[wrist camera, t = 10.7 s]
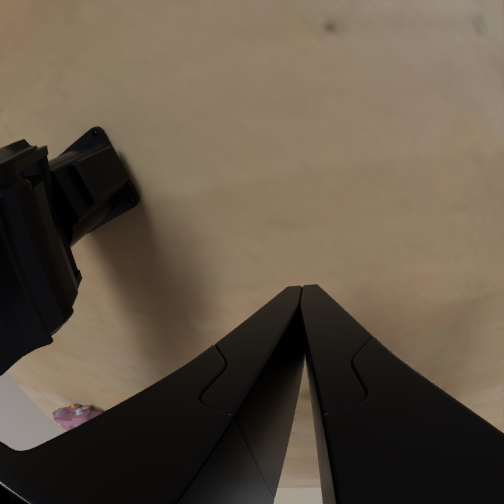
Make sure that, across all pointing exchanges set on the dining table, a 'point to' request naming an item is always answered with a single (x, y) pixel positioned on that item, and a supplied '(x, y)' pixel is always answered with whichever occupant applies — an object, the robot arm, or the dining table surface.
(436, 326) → the dining table surface
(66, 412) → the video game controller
